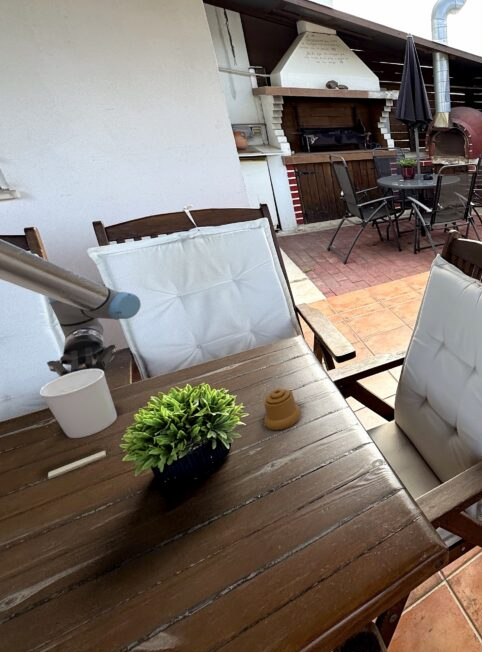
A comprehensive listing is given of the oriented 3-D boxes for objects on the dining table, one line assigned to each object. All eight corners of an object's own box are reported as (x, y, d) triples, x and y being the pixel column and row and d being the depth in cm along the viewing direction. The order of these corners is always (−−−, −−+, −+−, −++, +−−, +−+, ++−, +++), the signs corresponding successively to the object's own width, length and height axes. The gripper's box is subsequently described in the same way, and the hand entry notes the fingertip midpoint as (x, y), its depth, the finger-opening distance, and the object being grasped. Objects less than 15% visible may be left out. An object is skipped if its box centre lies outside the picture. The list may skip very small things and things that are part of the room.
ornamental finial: (273, 437, 88) (260, 421, 92) (307, 419, 93) (294, 405, 97) (265, 407, 85) (252, 393, 89) (301, 390, 90) (287, 378, 95)
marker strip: (49, 479, 77) (47, 477, 77) (49, 474, 78) (48, 472, 78) (106, 456, 82) (105, 454, 82) (105, 452, 84) (104, 450, 83)
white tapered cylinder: (60, 427, 90) (38, 382, 86) (118, 405, 97) (100, 363, 93) (63, 448, 85) (39, 402, 80) (125, 423, 92) (106, 379, 87)
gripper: (43, 343, 105) (35, 382, 89) (111, 327, 114) (114, 359, 98) (55, 367, 108) (49, 409, 92) (120, 349, 116) (125, 385, 101)
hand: (83, 383), depth 95 cm, fingers closed
